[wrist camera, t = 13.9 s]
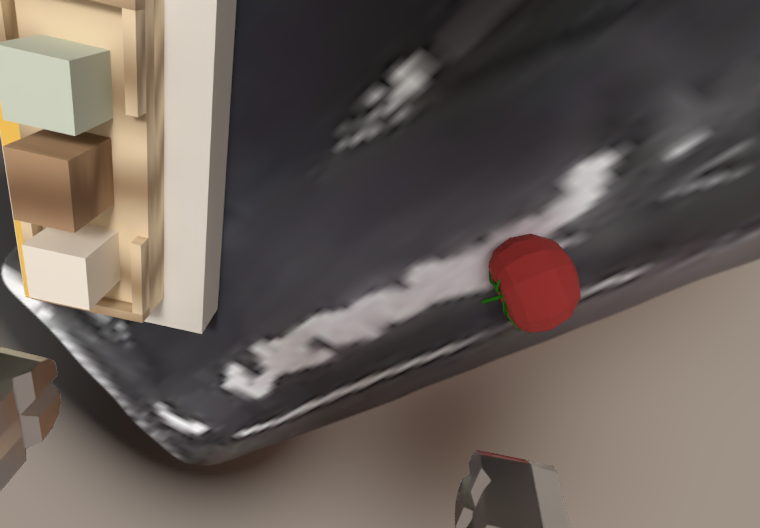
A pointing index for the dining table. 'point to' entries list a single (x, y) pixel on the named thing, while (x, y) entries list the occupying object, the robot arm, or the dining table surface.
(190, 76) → the dock
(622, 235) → the dining table surface
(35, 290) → the block
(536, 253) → the tomato
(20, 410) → the robot arm
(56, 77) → the block
